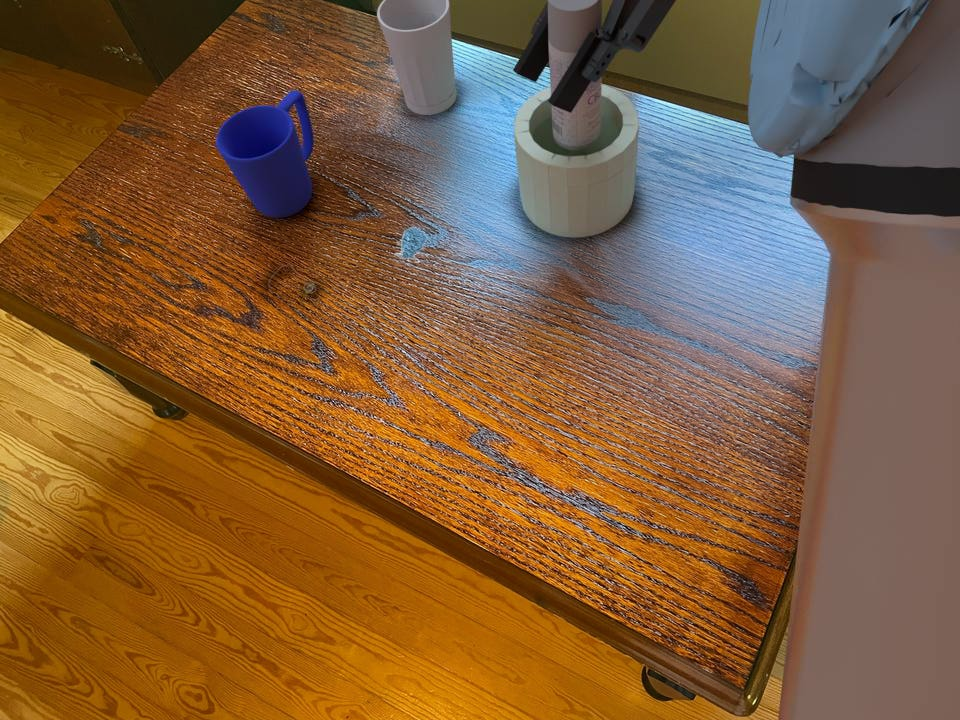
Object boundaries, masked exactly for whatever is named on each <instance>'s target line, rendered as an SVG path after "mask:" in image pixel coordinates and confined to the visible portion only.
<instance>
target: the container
mask: <svg viewBox="0 0 960 720" xmlns="http://www.w3.org/2000/svg"><path fill="white" fill-rule="evenodd" d="M547 1H548V40H549V62H548V64H549V84H550V85H549V87H551V95H552V93H553V92H554V90H555V88H556V87H557V85H558V84H559V82H560V80H561V79H562V77H563V76H564V74H565V72H566V71H567V69H568V67H569V66H570V64H571V63H572V61H573V59H574V58H575V56H576V54H577V53H578V51H579V50H580V48H581V46H582V45H583V43H584V42H585V40H586V38H587V37H588V35H589V33H590V32H591V33H592V34H594V35H595V28H596V29H599V30H601V28H602V26H603V0H547ZM602 77H603V75H602V76H601V78H600V79H599V80H598V81H597V82H596V83H595V82H593V81H591V82H590V84H589V85H588V87H587V89H586V90H585V92H584V93H583V95H582V96H581V98H580V100H579V101H578V103H577V104H576V106H575V107H574V109H573V111H572V112H571V113H570V112H567V111H565V110H562V109H560V108H557V107H555V106H553V105H552V104H551V106H552V126H553V137H554V140H555V142H556V143H557V144H558V145H560V146H561V147H563V148H566V149H570V150H581V149H585V148H588V147H590V146H592V145H593V144H595V143H596V142H597V140H598V139H599V137H600V132H601V87H602V84H603V83H602V80H603V78H602Z"/></svg>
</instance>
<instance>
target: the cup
mask: <svg viewBox="0 0 960 720" xmlns="http://www.w3.org/2000/svg"><path fill="white" fill-rule="evenodd" d="M376 16H377V21H378V24H379V26H380V29H381V32H382V35H383V37H384V40H385V43H386V46H387V47H388V51H389V54H390V58H391V61H392V64H393V66H394V70H395V71H396V75H397V79H398V81H399V84H400V87H401V90H402V93H403V97H404V101H405V105H406V107H407V108H408V109H409V110H410V111H411V112H412V113H415V114H416V115H422V116H432V115H438V114H441V113H443V112H445V111H447V110H449V108H451V107H452V106H453V105H454V104H455V102H456V101H457V96H458V91H457V86H456V78H455V77H456V75H455V65H454V63H455V62H454V52H453V41H452V39H453V38H452V25H451V24H452V23H451V10H450V0H382V1H381V3H379V6H378V8H377V11H376Z"/></svg>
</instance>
